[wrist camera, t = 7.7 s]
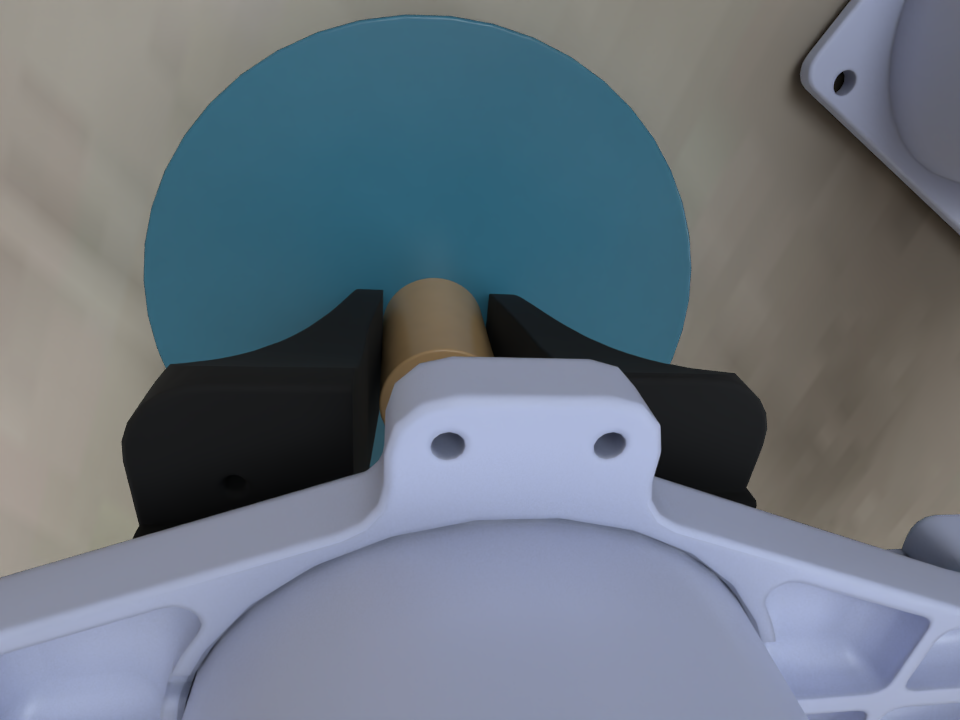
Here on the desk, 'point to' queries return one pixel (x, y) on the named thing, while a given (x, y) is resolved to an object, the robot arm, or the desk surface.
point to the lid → (415, 200)
